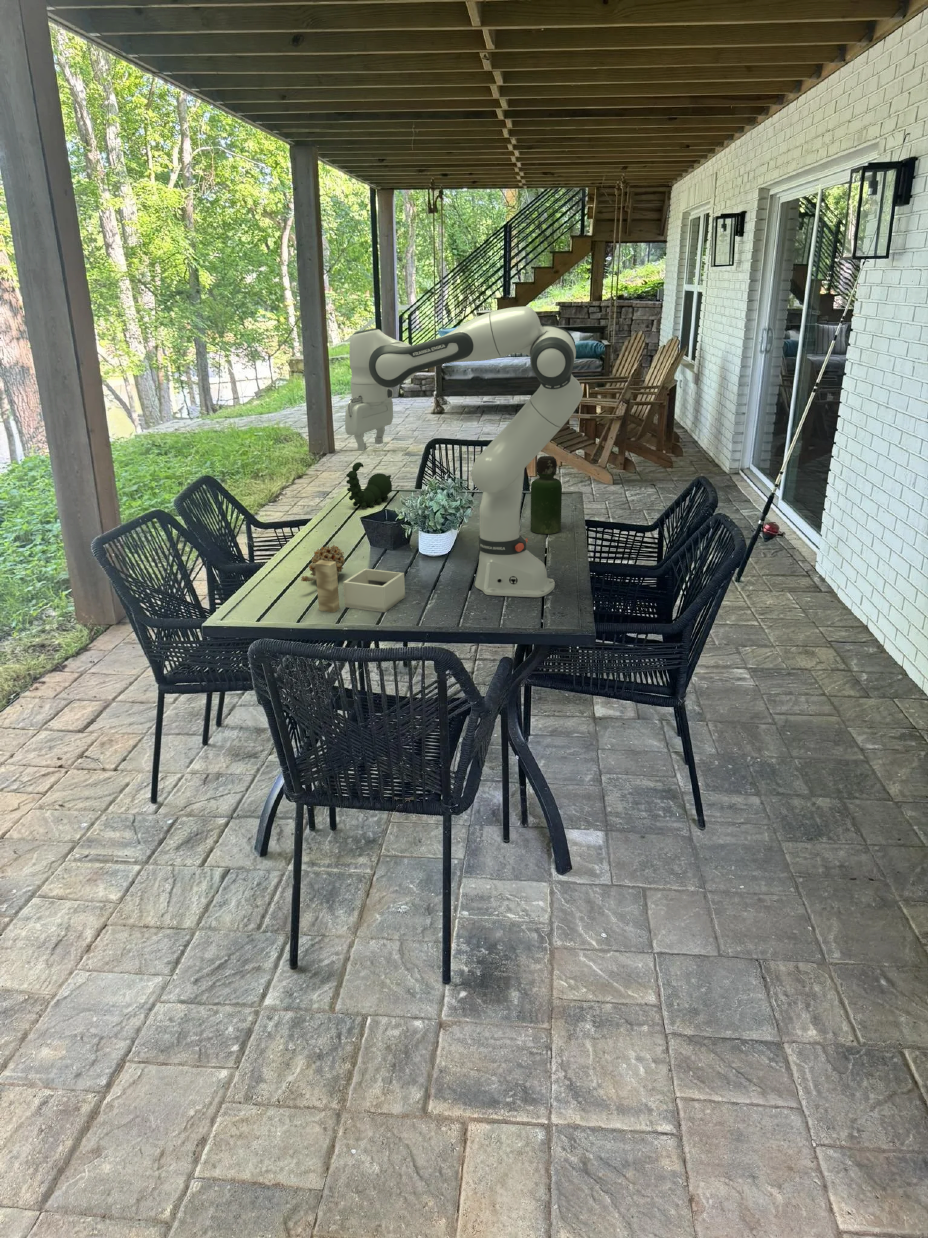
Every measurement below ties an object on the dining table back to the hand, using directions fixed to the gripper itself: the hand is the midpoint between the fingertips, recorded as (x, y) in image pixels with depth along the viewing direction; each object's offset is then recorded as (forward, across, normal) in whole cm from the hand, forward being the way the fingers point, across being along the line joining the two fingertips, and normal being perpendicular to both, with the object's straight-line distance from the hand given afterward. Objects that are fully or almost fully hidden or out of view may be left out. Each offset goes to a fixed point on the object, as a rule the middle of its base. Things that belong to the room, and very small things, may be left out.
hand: (370, 446), depth 231 cm
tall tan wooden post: (+39, -22, +2) cm, 45 cm away
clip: (+39, -13, -6) cm, 42 cm away
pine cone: (+40, -5, +15) cm, 43 cm away
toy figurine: (+40, +82, +46) cm, 102 cm away
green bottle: (+39, +68, -28) cm, 84 cm away
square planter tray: (+39, -13, -6) cm, 42 cm away
